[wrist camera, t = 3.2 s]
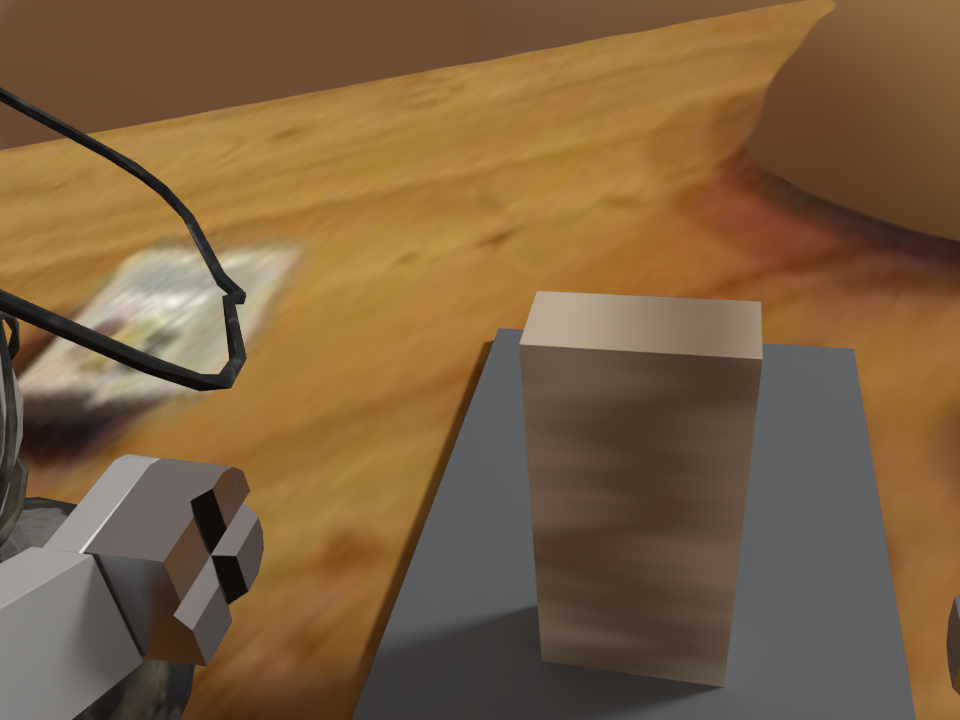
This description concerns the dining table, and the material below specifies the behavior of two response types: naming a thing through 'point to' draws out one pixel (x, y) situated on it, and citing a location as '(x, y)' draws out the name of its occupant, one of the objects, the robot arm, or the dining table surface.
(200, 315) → the dining table surface
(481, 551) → the mat
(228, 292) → the lantern
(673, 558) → the wooden block
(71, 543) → the robot arm
